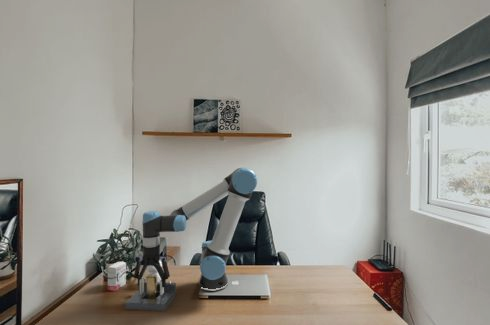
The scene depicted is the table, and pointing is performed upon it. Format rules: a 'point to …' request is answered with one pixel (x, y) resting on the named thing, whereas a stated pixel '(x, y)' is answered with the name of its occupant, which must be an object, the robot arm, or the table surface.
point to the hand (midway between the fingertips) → (151, 293)
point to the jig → (157, 304)
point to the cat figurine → (153, 271)
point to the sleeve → (152, 286)
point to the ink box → (116, 276)
